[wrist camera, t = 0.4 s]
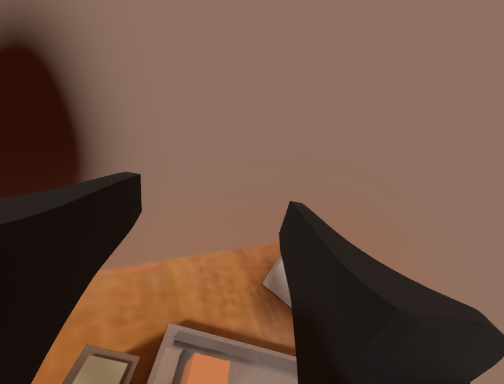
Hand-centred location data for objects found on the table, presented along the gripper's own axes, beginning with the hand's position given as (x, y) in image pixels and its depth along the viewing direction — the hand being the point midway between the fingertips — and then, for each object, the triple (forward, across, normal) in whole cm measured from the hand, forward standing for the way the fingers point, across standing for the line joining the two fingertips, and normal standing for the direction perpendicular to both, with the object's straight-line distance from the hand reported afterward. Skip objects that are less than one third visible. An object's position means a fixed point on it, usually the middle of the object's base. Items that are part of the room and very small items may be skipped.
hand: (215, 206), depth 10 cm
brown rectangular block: (-2, +7, +19) cm, 20 cm away
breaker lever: (0, -1, +18) cm, 18 cm away
